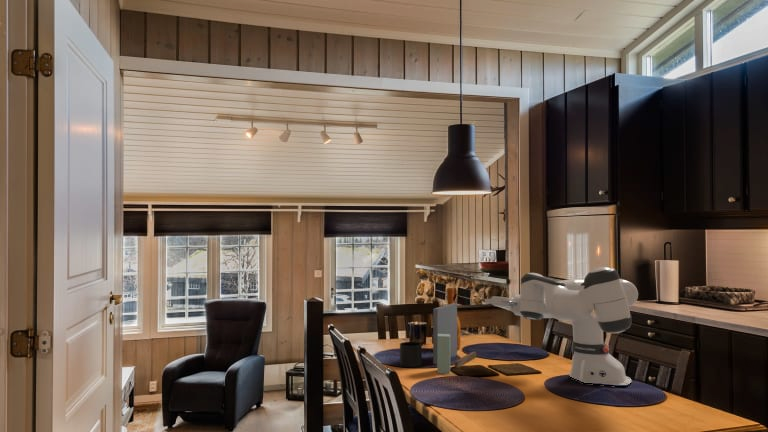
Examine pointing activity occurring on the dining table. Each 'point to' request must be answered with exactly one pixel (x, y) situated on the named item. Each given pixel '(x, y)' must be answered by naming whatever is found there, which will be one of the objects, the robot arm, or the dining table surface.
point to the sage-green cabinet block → (443, 353)
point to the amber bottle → (450, 300)
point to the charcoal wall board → (448, 332)
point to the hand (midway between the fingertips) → (489, 302)
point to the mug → (410, 354)
